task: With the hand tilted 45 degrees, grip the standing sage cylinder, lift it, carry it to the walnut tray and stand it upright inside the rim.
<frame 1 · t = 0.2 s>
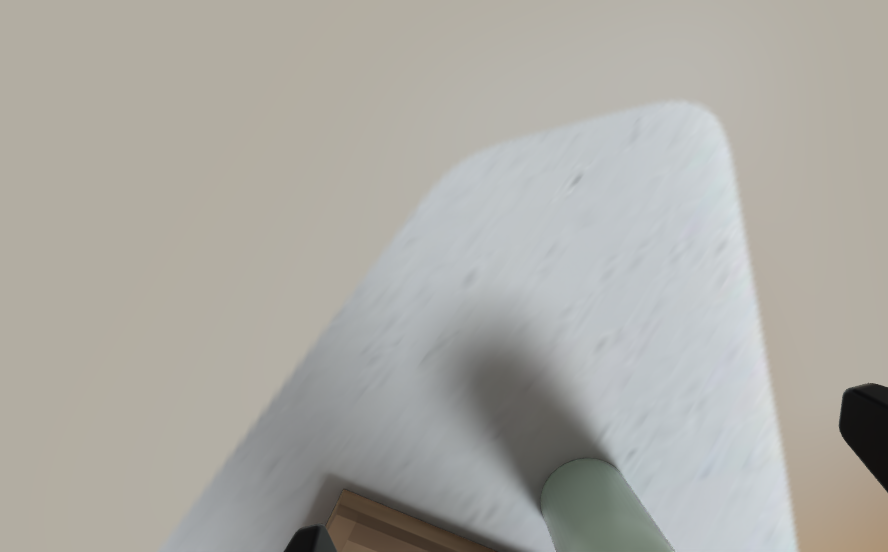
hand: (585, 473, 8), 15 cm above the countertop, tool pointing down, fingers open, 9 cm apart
sage cylinder: (584, 499, 25), on the countertop
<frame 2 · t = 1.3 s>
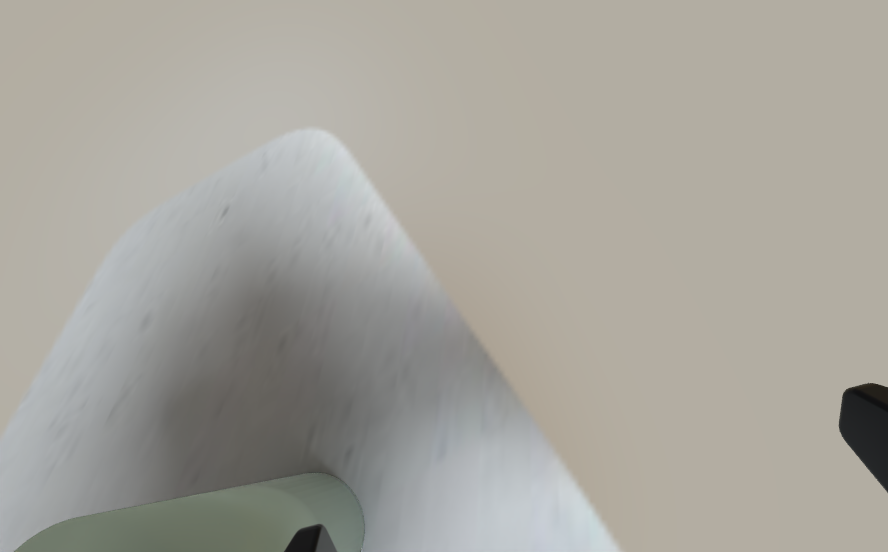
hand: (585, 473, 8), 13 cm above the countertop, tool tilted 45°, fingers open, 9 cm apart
sage cylinder: (311, 531, 21), on the countertop
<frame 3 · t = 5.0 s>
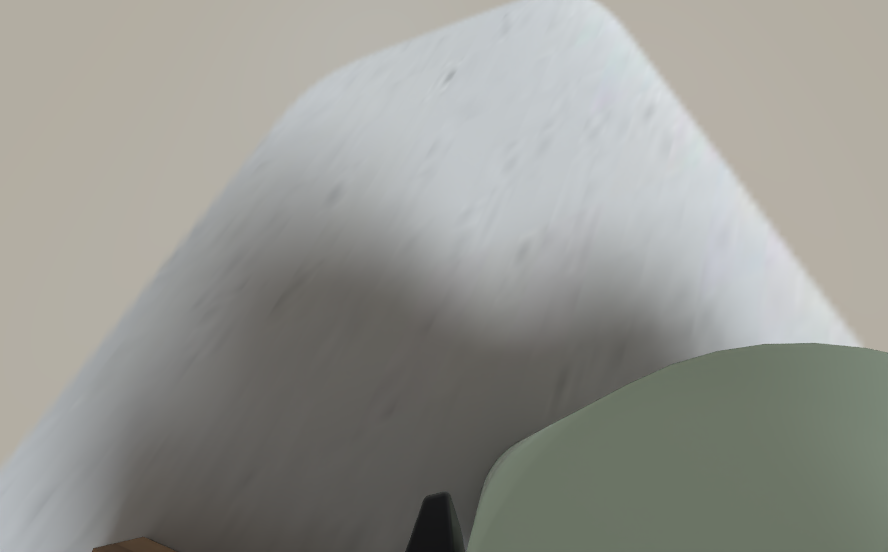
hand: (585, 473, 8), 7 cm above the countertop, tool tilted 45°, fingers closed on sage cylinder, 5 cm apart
sage cylinder: (559, 517, 14), on the countertop, touching gripper
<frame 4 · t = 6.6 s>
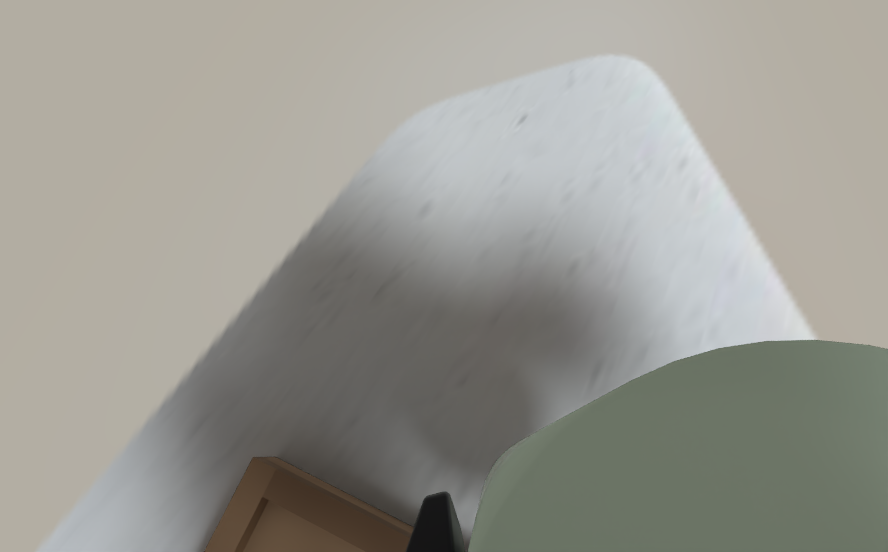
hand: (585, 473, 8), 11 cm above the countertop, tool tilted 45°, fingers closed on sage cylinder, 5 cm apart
sage cylinder: (560, 517, 14), point 5 cm above the countertop, touching gripper
when the fingers open (9 cm above the countertop, at t = 8.3 s): sage cylinder drops 1 cm, resting on walnut tray.
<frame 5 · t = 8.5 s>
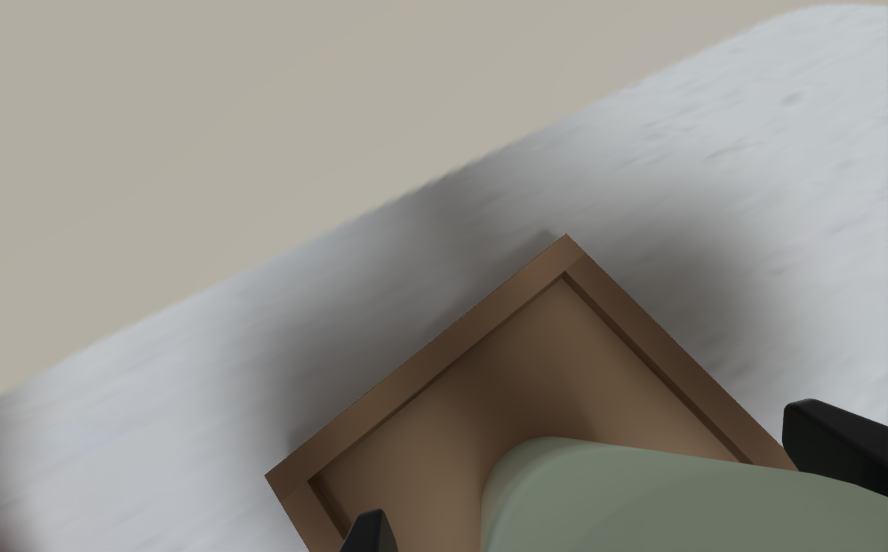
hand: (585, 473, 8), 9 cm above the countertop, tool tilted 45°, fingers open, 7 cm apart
walnut tray: (548, 507, 17), on the countertop
sage cylinder: (554, 513, 15), point 1 cm above the countertop, touching walnut tray
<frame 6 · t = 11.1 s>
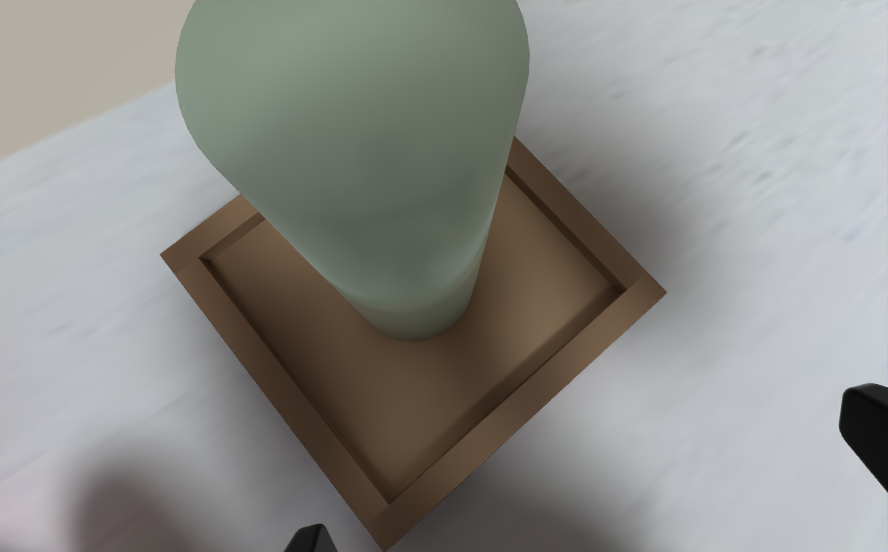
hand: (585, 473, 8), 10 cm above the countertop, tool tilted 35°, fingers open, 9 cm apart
walnut tray: (414, 284, 20), on the countertop
sage cylinder: (413, 279, 19), point 1 cm above the countertop, touching walnut tray
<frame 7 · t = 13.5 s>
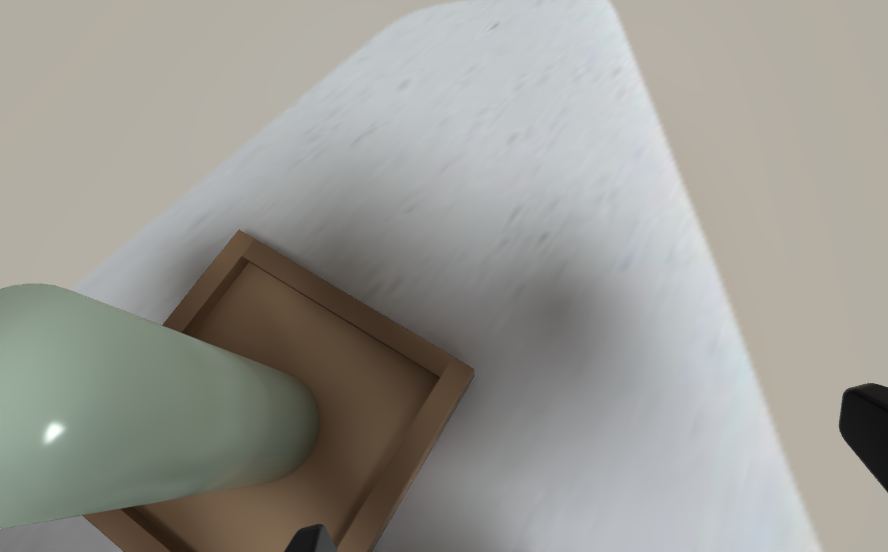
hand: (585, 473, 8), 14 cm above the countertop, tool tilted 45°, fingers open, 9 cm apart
walnut tray: (276, 426, 22), on the countertop
sage cylinder: (266, 425, 21), point 1 cm above the countertop, touching walnut tray
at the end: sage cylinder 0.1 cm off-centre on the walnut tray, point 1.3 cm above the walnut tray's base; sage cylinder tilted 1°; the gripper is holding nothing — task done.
